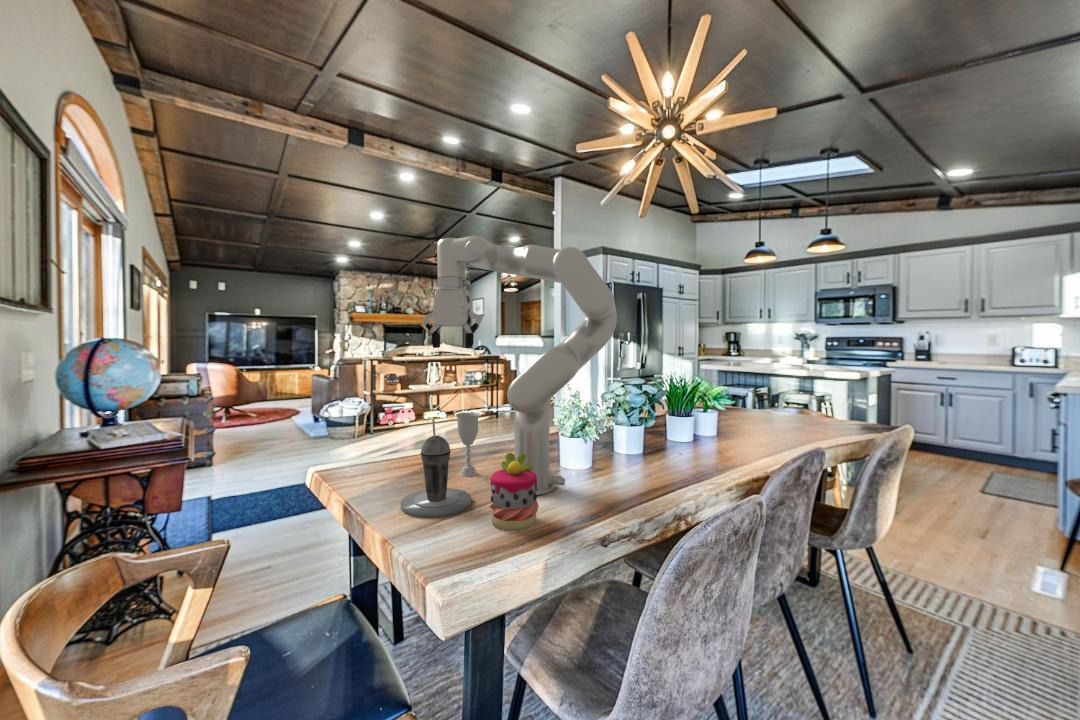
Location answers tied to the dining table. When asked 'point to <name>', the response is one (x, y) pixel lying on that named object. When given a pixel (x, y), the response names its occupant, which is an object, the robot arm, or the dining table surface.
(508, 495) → the cake
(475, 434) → the chalice
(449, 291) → the robot arm
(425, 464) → the beverage cup
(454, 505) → the dish
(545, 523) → the dining table surface
